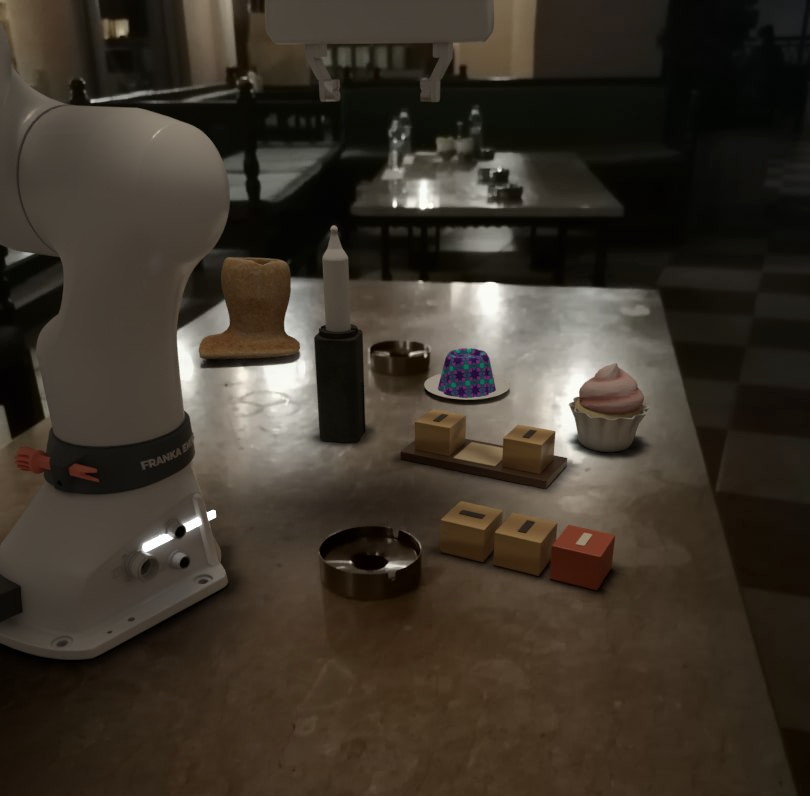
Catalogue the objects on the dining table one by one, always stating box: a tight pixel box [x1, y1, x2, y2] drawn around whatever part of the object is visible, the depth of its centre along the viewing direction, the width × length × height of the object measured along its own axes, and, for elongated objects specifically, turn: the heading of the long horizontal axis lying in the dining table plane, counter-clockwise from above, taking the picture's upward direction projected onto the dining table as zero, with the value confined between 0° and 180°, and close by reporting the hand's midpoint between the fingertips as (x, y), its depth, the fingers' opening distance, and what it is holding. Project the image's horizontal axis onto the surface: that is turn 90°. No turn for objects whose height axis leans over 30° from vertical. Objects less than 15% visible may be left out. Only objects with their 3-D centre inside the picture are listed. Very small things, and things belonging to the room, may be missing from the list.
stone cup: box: [198, 256, 301, 360], centre depth 139 cm, size 15×12×15 cm
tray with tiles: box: [400, 409, 568, 490], centre depth 104 cm, size 7×18×5 cm, turn 62°
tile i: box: [439, 500, 504, 563], centre depth 87 cm, size 4×4×4 cm
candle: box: [313, 225, 366, 444], centre depth 107 cm, size 5×5×25 cm
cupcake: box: [568, 362, 650, 453], centre depth 108 cm, size 9×9×10 cm
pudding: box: [423, 347, 511, 401], centre depth 126 cm, size 12×12×5 cm
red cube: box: [549, 524, 616, 591], centre depth 82 cm, size 4×4×4 cm
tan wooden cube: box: [493, 512, 559, 577], centre depth 84 cm, size 4×4×4 cm
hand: (379, 101), depth 82 cm, fingers open, 8 cm apart
